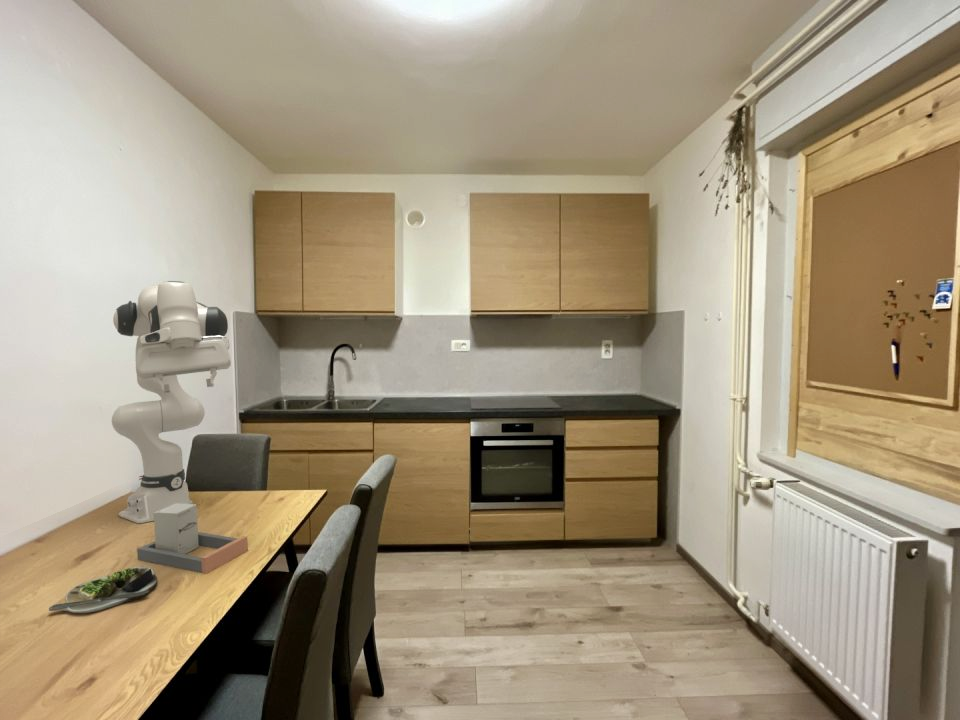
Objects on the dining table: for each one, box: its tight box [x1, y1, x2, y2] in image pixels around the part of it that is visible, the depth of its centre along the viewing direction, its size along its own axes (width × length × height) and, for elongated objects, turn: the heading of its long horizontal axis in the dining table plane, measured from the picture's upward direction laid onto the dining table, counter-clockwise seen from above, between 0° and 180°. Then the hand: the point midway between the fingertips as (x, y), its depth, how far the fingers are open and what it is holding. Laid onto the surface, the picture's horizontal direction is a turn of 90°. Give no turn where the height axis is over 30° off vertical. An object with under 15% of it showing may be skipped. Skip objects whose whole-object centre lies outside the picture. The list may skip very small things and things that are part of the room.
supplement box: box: [153, 503, 200, 555], centre depth 128 cm, size 7×7×13 cm
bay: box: [136, 531, 249, 575], centre depth 126 cm, size 25×13×4 cm, turn 71°
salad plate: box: [48, 565, 158, 614], centre depth 107 cm, size 19×18×5 cm
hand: (188, 389), depth 115 cm, fingers open, 8 cm apart
